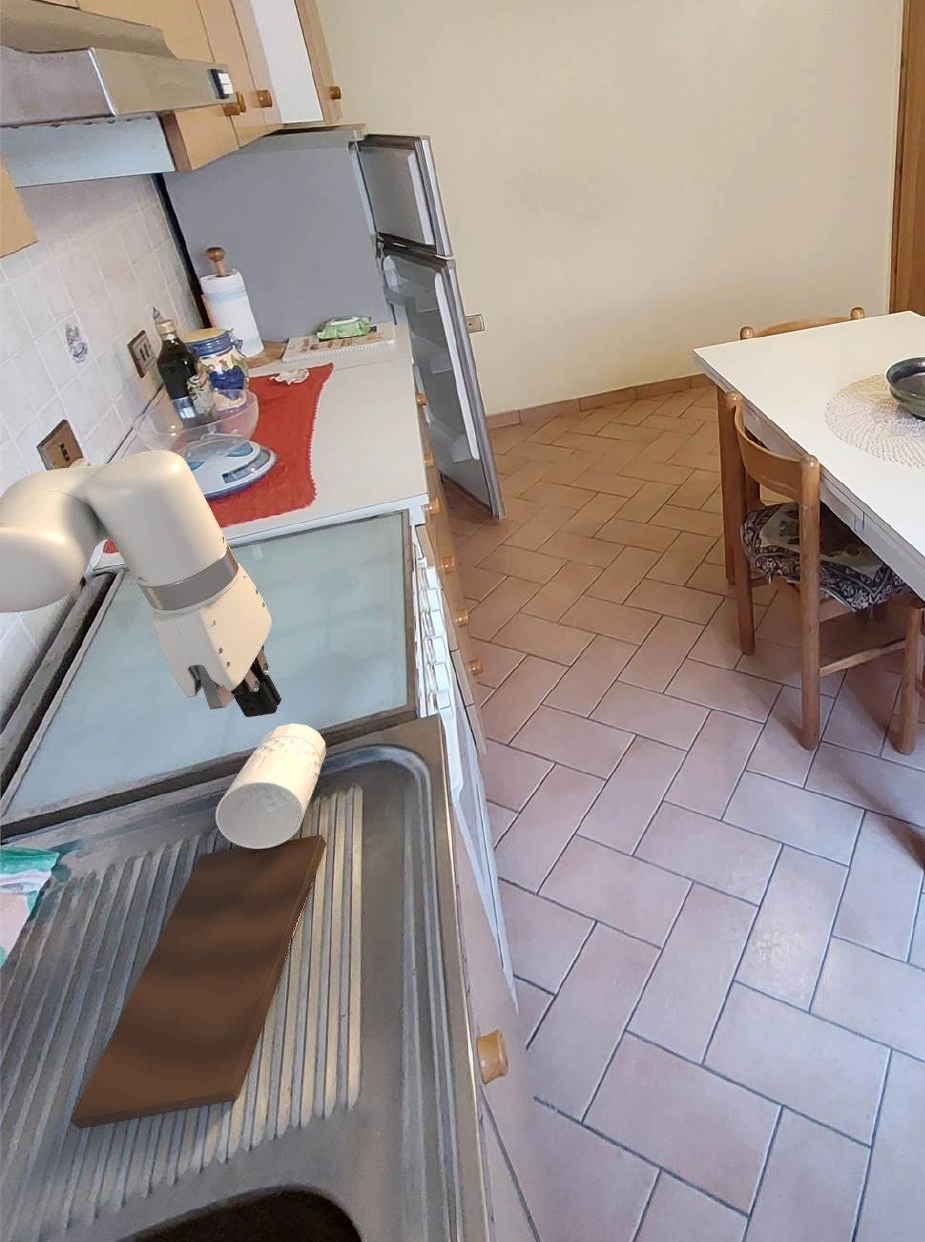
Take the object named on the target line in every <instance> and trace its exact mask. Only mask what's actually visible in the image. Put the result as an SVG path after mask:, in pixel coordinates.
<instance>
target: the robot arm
mask: <svg viewBox="0 0 925 1242" xmlns="http://www.w3.org/2000/svg"><path fill="white" fill-rule="evenodd" d="M106 540H110V541H112V543H113V545H114V546H115V548H116V550H117V551H118V553H119V555H120V557H121V558H122V560H123V561H124V563H125V565H126V567H127V568H128V570H129V572H130V573H131V575H132V576H133V578H134V581H136V583H137V585H138V586H139V587H138V588H140V590H141V591H142V593H143V595H144V597H145V598H146V600H147V601H148V603H149V605H150V608H151V609H152V610H153V611H154V612H153V614H152V616H151V620H152V626H153V629H154V633H155V636H156V639H157V642H158V645H159V647H160V650H161V652H162V655H163V657H164V660H165V661H166V663H167V666H168V667H169V670H170V672H171V674H172V676H173V678H174V680H175V681H176V683H177V685H178V686H179V688H180V690H181V691H182V693H183V694H184V696H186V697H187V698H194V697H196V696H198V694H199V692H200V690H201V689H202V690H203V694H204V696H205V698H206V702H207V706H208V707H209V709H210V710H218V709H224V708H227V706H229V704H230V703H231V702H232V701H233V700H235V701H236V704H237V705H238V707H239V709H240V710H241V712H242V713H243V715H244V717H245V718H253V717H258V716H259V717H260V716H267V715H272V714H273V715H274V714H276V712H277V710H278V707H279V705H280V704H281V702H282V697H281V695H280V693H279V692H278V690H277V688H276V686H275V683H274V682H273V680H272V678H271V676H270V674H268V672H269V669H270V666H269V663H268V660H267V657H266V655H265V646H264V645H265V642H266V639H267V638H268V636H269V634H270V632H271V629H272V624H273V620H272V617H271V614H270V611H269V608H268V607H267V605H266V603H265V601H264V599H263V597H262V595H261V594H260V592H259V590H258V589H257V588H258V587H256V585H255V584H254V582H253V581H252V579H251V577H250V576H249V575H248V573H247V572H246V570H245V569H244V568H243V567H242V565H241V564H240V563H239V562H238V561H237V559H236V557H235V555H234V553H233V551H232V549H231V547H230V545H229V543H228V541H227V539H226V537H225V535H224V533H223V531H222V529H221V527H220V525H219V523H218V521H217V518H216V517H215V515H214V512H213V511H212V509H211V507H210V505H209V503H208V501H207V499H206V497H205V495H204V493H203V491H202V489H201V487H200V485H199V484H198V481H197V480H196V476H195V475H194V474H193V472H192V470H191V467H190V466H189V465H188V463H187V461H186V460H185V459H184V457H182V456H181V455H180V454H178V453H175V452H174V451H171V450H165V449H152V450H146V451H141V452H136V453H133V454H130V455H127V456H124V457H122V458H119V459H117V460H114V461H113V462H109V463H107V462H106V463H100V464H93V465H84V466H83V465H82V466H74V467H73V466H72V467H62V468H55V469H48V470H43V471H38V472H35V473H34V472H33V473H31V474H29V475H26V476H24V477H22V478H19V479H18V480H16V481H15V482H14V483H12V484H11V485H10V486H8V487H7V489H6V490H5V491H4V492H3V494H2V495H1V496H0V614H7V613H9V614H10V613H12V614H13V613H21V612H28V611H35V610H39V609H42V608H46V607H48V606H50V605H52V604H55V603H57V602H59V601H61V600H62V599H64V598H65V597H67V596H68V595H69V594H70V593H72V592H73V591H74V589H75V588H76V587H78V585H79V584H80V582H81V581H82V579H83V577H84V575H85V573H86V571H87V569H88V567H89V565H90V562H91V559H92V557H93V554H94V552H95V549H96V548H97V546H99V545H100V544H101V543H103V541H106Z"/></svg>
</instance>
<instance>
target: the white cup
mask: <svg viewBox="0 0 925 1242" xmlns="http://www.w3.org/2000/svg"><path fill="white" fill-rule="evenodd" d="M326 749H327V747H326V741H325V740H324V738H323V737H322V736H321V734H320V732H319V731H317V730H316V729H314V728H312V727H311V726H309V725H306V724H300V723H292V722H291V723H288V724H283V725H279V726H277V727H275V728H273V729H272V730H271V731H269V732H268V733H267V734H265V736H264V737H263V739H262V740H261V742H260V744H258V747H257V748H256V749H255V750H254V751H253V753H252V754H251V755H250V756H249V757H248V759H247V761H246V762H245V763H244V765H243V766H242V767H241V768H240V770H239V772H238V773H237V775H236V776H235V778H234V779H233V781H232V782H231V784H230V786H229V787H228V788H227V790H226V791H225V793H224V794H223V796H222V798H221V799H220V801H218V803H217V806H216V809H215V823H216V826H217V828H218V831H219V832H220V833H221V834H222V835H223V837H224V838H226V840H228V841H229V842H231V843H233V844H234V845H237V846H239V847H241V848H244V847H246V848H252V849H264V848H270V847H274V846H277V845H280V844H282V843H284V842H286V841H287V840H291V838H293V837H294V836H295V835H296V834H297V832H298V831H299V830H300V828H301V826H302V823H303V821H304V818H305V815H306V813H307V810H308V807H309V805H310V802H311V800H312V798H313V797H312V796H313V794H314V791H315V788H316V785H317V782H318V780H319V776H320V773H321V769H322V766H323V763H324V761H325V758H326V756H327V752H326V751H327V750H326Z"/></svg>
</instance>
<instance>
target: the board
mask: <svg viewBox="0 0 925 1242" xmlns="http://www.w3.org/2000/svg"><path fill="white" fill-rule="evenodd" d="M326 846H327V841H326V840H325V838H324V837H323V834H318V835H317V834H316V835H312V836H305V837H299V838H293V839H289V840H287V841H286V842H284V843H282V844H280V845H277V846H274V847H270V848H264V849H252V848H246V847H237V848H232V849H226V850H219V851H213V852H207V853H202V854H200V855H199V856H198V858H197V861H196V862H195V865H194V867H193V869H192V870H191V872H190V875H189V877H188V879H187V881H186V882H185V885H184V887H183V889H182V891H181V893H180V895H179V897H178V898H177V901H176V903H175V905H174V908H173V910H172V911H171V914H170V915H169V918H168V919H167V922H166V924H165V926H164V928H163V930H162V932H161V934H160V936H159V938H158V940H157V942H156V944H155V946H154V947H153V950H152V952H151V954H150V956H149V958H148V960H147V962H146V964H145V966H144V968H143V970H142V973H141V975H140V976H139V978H138V981H137V983H136V985H135V987H134V988H133V991H132V993H131V995H130V997H129V999H128V1001H127V1002H126V1005H125V1006H124V1009H123V1011H122V1012H121V1015H120V1017H119V1019H118V1021H117V1024H116V1025H115V1027H114V1029H113V1031H112V1033H111V1035H110V1037H109V1039H108V1041H107V1043H106V1045H105V1048H104V1050H103V1052H102V1054H101V1056H100V1058H99V1060H98V1062H97V1064H96V1066H95V1067H94V1070H93V1072H92V1074H91V1076H90V1078H89V1080H88V1082H87V1085H86V1086H85V1088H84V1090H83V1092H82V1095H81V1096H80V1098H79V1100H78V1102H77V1104H76V1107H75V1109H74V1110H73V1112H72V1114H71V1116H70V1118H69V1122H70V1123H71V1124H72V1125H74V1126H75V1127H77V1129H85V1128H90V1127H96V1126H100V1125H101V1126H102V1125H107V1124H112V1123H118V1122H123V1121H124V1122H125V1121H129V1120H135V1119H141V1118H146V1117H151V1116H157V1115H162V1114H168V1113H173V1112H180V1111H184V1110H190V1109H195V1108H200V1107H206V1106H211V1105H217V1104H223V1103H228V1102H234V1101H238V1098H239V1096H240V1093H241V1090H242V1087H243V1085H244V1082H245V1078H246V1075H247V1074H248V1071H249V1068H250V1065H251V1061H252V1059H253V1056H254V1053H255V1050H256V1047H257V1044H258V1042H259V1039H260V1035H261V1033H262V1029H263V1027H264V1024H265V1022H266V1018H267V1015H268V1012H269V1010H270V1007H271V1004H272V1001H273V998H274V996H275V993H274V992H276V990H277V987H278V983H279V981H280V978H281V976H282V973H281V972H283V970H282V969H284V967H283V965H284V966H285V964H284V962H285V963H286V961H285V958H286V956H287V957H288V955H287V953H288V954H289V952H288V947H289V943H290V940H291V937H292V935H293V932H294V930H295V927H296V923H297V922H298V918H299V916H300V913H301V911H302V909H303V906H304V903H305V901H306V897H307V896H308V897H309V895H308V893H309V894H310V892H311V889H312V886H311V883H312V882H313V883H314V881H313V879H314V880H315V878H314V875H315V874H316V875H317V871H318V869H319V866H320V863H321V860H322V857H323V854H324V851H325V849H326ZM316 875H315V876H316ZM313 883H312V884H313ZM309 891H310V892H309ZM306 902H307V901H306ZM304 907H305V906H304ZM303 910H304V909H303ZM286 959H287V958H286ZM273 995H274V996H273ZM271 1000H272V1001H271Z"/></svg>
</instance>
